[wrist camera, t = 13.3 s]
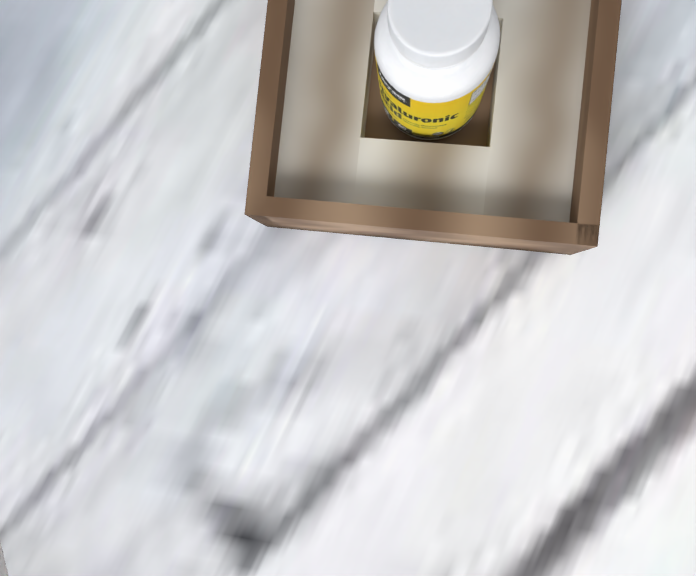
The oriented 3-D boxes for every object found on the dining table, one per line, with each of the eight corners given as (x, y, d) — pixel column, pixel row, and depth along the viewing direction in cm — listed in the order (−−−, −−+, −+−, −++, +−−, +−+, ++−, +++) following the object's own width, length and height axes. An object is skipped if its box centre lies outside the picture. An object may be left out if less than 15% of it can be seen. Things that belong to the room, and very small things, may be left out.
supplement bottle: (364, 118, 32) (343, 37, 22) (408, 29, 32) (407, -92, 22) (453, 159, 31) (472, 95, 22) (499, 69, 31) (538, -37, 22)
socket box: (266, 226, 33) (244, 214, 29) (296, -47, 34) (278, -101, 29) (570, 254, 32) (597, 246, 27) (599, -35, 32) (630, -91, 27)
